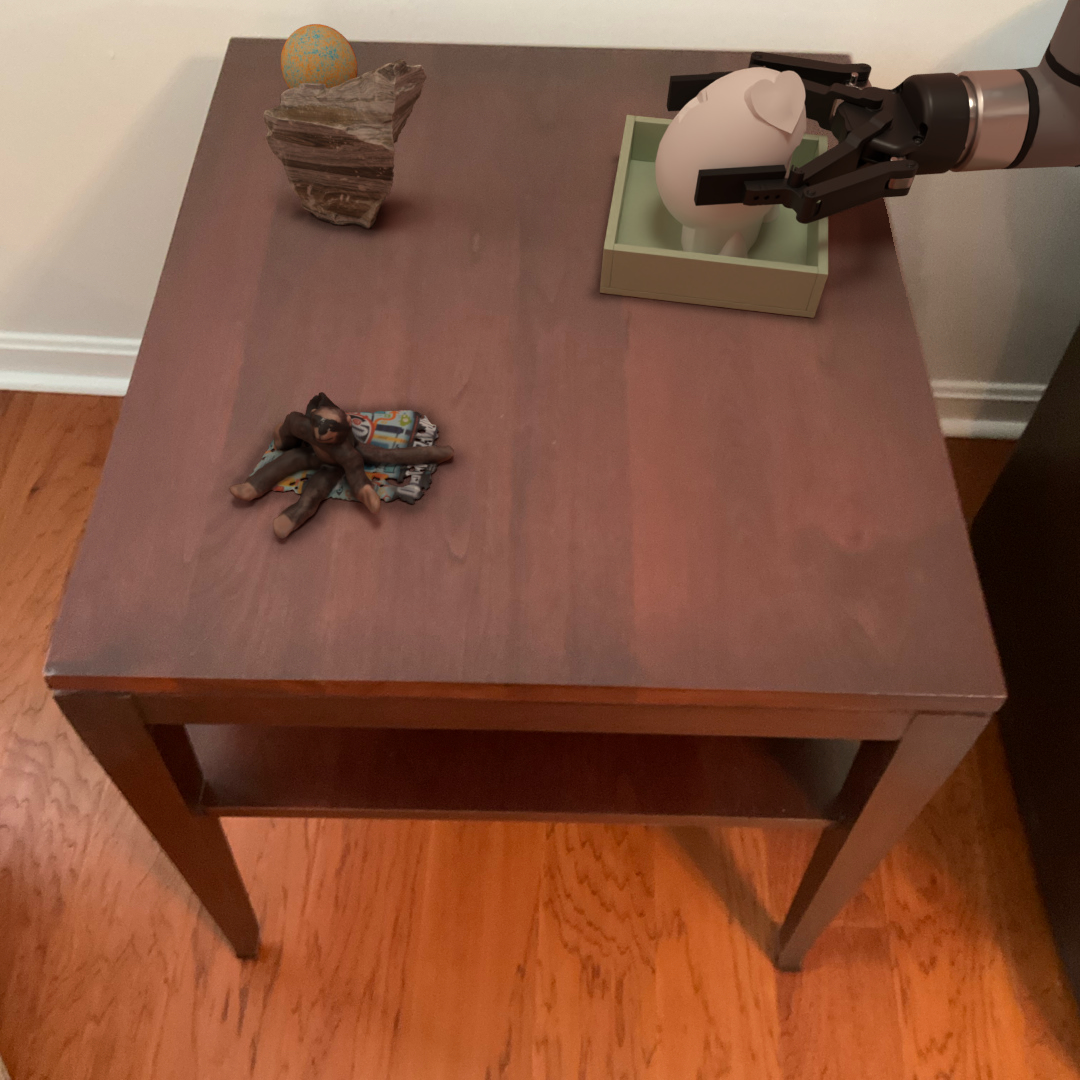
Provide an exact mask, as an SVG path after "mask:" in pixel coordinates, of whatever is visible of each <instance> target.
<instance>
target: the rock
mask: <svg viewBox="0 0 1080 1080" xmlns="http://www.w3.org/2000/svg"><path fill="white" fill-rule="evenodd" d="M426 79H427V74H426V73H425V69H424V66H423V65H422V64H413V65H412V64H410V65H409V64H407V61H406V59H404V58H402V59H398V60H395V61H391V62H388V63H385V64H384V65H382V66H380V67H378V68H374V69H372V70H370V71H367V72H364V73H363V74H360V76H357V78H354V79H350V80H348V81H346V82H344V83H343V84H341V85H338V86H335V87H332V88H330V89H327V88H326V86H325V85H326V84H321V83H318V84H314V83H301V84H300V85H299V87H295V88H291V89H289V88H288V89H286V90H284V91H283V92H281V95H280V97H281V98H280V104H279V105H277V106H274V107H273V108H267V109H266V110H264V112H263V122H264V124H265V126H266V128H267V131H268V132H267V133H266V134H265V140H266V143H267V144H268V146H269V148H270V150H271V153H273V154H274V156H276V158H277V159H278V160H280V162H281V164H282V166H283V170H284V172H285V174H286V176H287V177H286V178H287V180H288V182H289V186H290V188H291V190H292V191H293V193H294V194H295V195H296V196H297V197H298V198H299V200H300V205H301V208H302V209H304V210H306V211H308V213H311V214H313V215H314V217H316V218H317V219H319V220H321V221H324V222H327V223H330V224H331V225H332V226H345V225H347V226H348V225H349V226H350V225H353V226H358V227H362V229H368V230H371V229H372V228H373V227H374V226H375V225H376V221H377V219H378V216H379V211H380V208H381V206H382V204H383V203H384V202H385V200H386V199H387V197H389V195H390V194H391V190H392V188H393V184H394V177H395V176H394V175H395V174H394V168H395V164H394V163H395V158H394V157H395V155H396V154H395V153H396V152H395V151H396V149H395V143H397V142H398V139H399V137H400V135H401V133H402V131H403V129H404V128H405V126H406V123H407V121H408V118H409V117H410V116H411V114H412V113H413V108H414V105H415V104H416V102H417V101H418V100H419V98H420V97H421V95H422V91H423V88H424V84H425V81H427V80H426Z"/></svg>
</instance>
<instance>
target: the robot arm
mask: <svg viewBox="0 0 1080 1080" xmlns="http://www.w3.org/2000/svg"><path fill="white" fill-rule="evenodd" d="M754 67H763V68H769V69H773V70H776V71H779V72H781V73H782V72H784V71H794V72H795V73H797V74H798V75H799V77H800V78H801V80H802V82H803V85H804V88H805V102H804V104H805V109H806V119H808V120H812V121H816V122H817V124H818V127H820V129H823V130H826V131H828V132H831V133H832V136H833V137H834V138H835V139H836V140H837V145H835V146H833V147H831V148H830V149H828V151H826V152H825V153H823V154H821V155H820V156H818V157H816V158H815V159H813V160H811V161H810V162H808V163H806V164H805V165H803V166H801V167H800V168H798V167H796V166H795V169H794V170H793V167H794V165H792V166H791V169H790V173H789V177H788V178H785V175H786V168H785V166H784V165H769V166H752V167H735V168H719V169H702V170H699V172H698V178H697V184H696V190H695V196H694V202H695V205H696V206H703V205H719V204H735V203H743V205H747V206H757V205H775V204H782V205H783V206H784V207H786V208H790V209H793V210H794V211H795V212H796V213H797V215H796V220H797V221H798V222H799V223H802V224H808V223H811V222H814V221H817V220H820V219H822V218H825V217H828V218H829V217H831V216H833V215H836V214H839V213H843V212H845V211H848V210H852V209H854V208H857V207H859V206H862V205H865V204H868V203H871V202H873V201H877V200H880V199H882V198H883V199H884V198H897V197H906V196H909V193H910V190H911V189H912V185H913V183H914V179H915V177H916V176H925V175H927V176H928V175H941V174H942V175H943V174H945V173H947V172H949V171H950V172H953V173H964V172H966V173H967V172H979V171H980V172H981V171H992V170H993V171H996V170H1017V169H1019V170H1020V169H1043V168H1065V167H1066V168H1068V167H1069V168H1080V0H1067V2H1066V4H1065V7H1064V8H1063V11H1062V14H1061V16H1060V17H1059V20H1058V23H1057V25H1056V27H1055V30H1054V32H1053V34H1052V37H1051V39H1050V40H1049V43H1048V45H1047V47H1046V49H1045V52H1044V53H1043V56H1042V58H1041V60H1040V61H1039V64H1038V65H1037V66H1030V67H1021V68H1005V69H982V70H981V69H979V70H962V71H961V72H959V73H957V74H956V73H954V72H931V73H916V74H911V75H910V76H908V77H906V78H905V79H904V80H903V81H902V82H900V83H899V84H898V85H896V86H895V87H893V88H891V89H889V88H881V87H878V86H872V83H871V81H870V79H869V78H870V75H871V72H872V69H873V68H872V66H871V65H870V64H868V63H864V62H862V63H861V62H860V63H859V62H858V63H836V62H830V61H823V60H817V59H810V58H804V57H803V58H802V57H797V56H792V55H785V54H779V53H778V54H777V53H770V52H765V51H753V52H752V53H751V54H750V59H749V63H748V67H747V68H746V69H748V68H754ZM735 71H736V70H729V71H713V72H710V73H699V74H696V73H695V74H680V75H670V76H669V83H668V84H669V85H668V92H667V99H666V109H667V112H680V111H681V109H682V108H683V107H684V106H685V105H686V104H687V103H688V102H689V101H691V100H692V99H693V98H695V97H696V96H697V95H698V94H699V92H700V91H701V90H703V89H704V88H706V87H707V86H709V85H710V84H711V83H713V82H714V81H716V80H717V79H719V78H721V77H723V76H726V75H728V74H730V73H732V72H735ZM838 100H840V101H842V102H840V103H839V104H838V106H837V107H836V105H837V101H838ZM834 111H835V112H834ZM819 200H820V202H819V203H817V201H819Z"/></svg>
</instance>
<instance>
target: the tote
mask: <svg viewBox="0 0 1080 1080" xmlns="http://www.w3.org/2000/svg"><path fill="white" fill-rule="evenodd" d="M625 116H626V117H625V122H624V128H623V135H622V140H621V145H620V152H619V157H618V162H617V169H616V173H615V179H614V185H613V190H612V191H613V192H612V198H611V203H610V209H609V214H608V220H607V224H606V225H607V226H606V232H605V237H604V242H603V250H602V261H601V273H600V286H599V293H600V294H607V295H615V296H622V297H623V296H624V297H632V298H633V297H634V298H640V299H650V300H657V301H664V302H665V301H666V302H674V303H682V304H683V303H684V304H692V305H700V306H709V307H716V308H725V309H734V310H742V311H751V312H759V313H768V314H777V315H785V316H794V317H802V318H811V319H814V318H815V316H816V313H817V310H818V307H819V305H820V302H821V301H820V300H821V299H822V295H823V292H824V289H825V286H826V282H827V280H828V276H829V216H828V217H825V218H822V219H820V220H817V221H814V222H811V223H808V224H802V223H799V222H798V221H797V220H796V215H797V213H796V212H795V211H794V210H793V209H790V208H786V207H784V206H783V205H782V204H779V216H778V217H777V218H776V219H775V220H774V221H771V222H767V223H762V226H761V230H760V232H759V235H758V237H757V240H756V242H755V243H754V244H753V246H752V247H751V248H750V250H749V251H748V252H747V254H748V259H747V258H738V257H729V256H721V255H712V254H703V253H694V252H686V251H683V248H682V244H681V235H682V227H683V225H682V224H681V223H680V222H679V221H677V220H676V219H675V218H674V217H673V216H672V215H671V214H670V212H669V211H668V210H667V208H666V207H665V205H664V203H663V201H662V199H661V196H660V194H659V191H658V188H657V183H656V168H655V161H656V157H657V152H658V148H659V144H660V142H661V140H662V138H663V136H664V134H665V132H666V130H667V128H668V126H669V125H670V123H671V122H672V121H673V119H670V118H662V117H661V118H660V117H652V116H642V115H632V114H626V115H625ZM828 150H829V136H828V135H823V134H813V133H806V132H804V135H803V138H802V140H801V143H800V145H799V146H797V147H796V148H795V150H794V151H793V155H792V159H791V164H790V168H789V173H790V169H791V166H792V165H794V167H793V170H794V169H795V166H796V167H798V168H800V167H801V166H803V165H805V164H806V163H808V162H810V161H811V160H813V159H815V158H816V157H818V156H820V155H821V154H823V153H825V152H826V151H828ZM819 202H820V200H819V201H817V203H819Z"/></svg>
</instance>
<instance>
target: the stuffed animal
mask: <svg viewBox="0 0 1080 1080" xmlns="http://www.w3.org/2000/svg"><path fill="white" fill-rule="evenodd" d="M421 416H422V413H420V412H418V411H413V410H412V409H411V410H410V409H409V410H405V409H400V410H385V411H383V410H377V411H374V412H370V411H355V412H352V411H351V412H345V410H343V409H342V408H341V407H339V406H338V405H337V404H335V403H334V402H333V401H332V400H331V398H329V397H328V396H327V394H326V393H325V392H323V391H320V392H318V394H316V395H314V396H312V398H311V399H310V400H309V402H308V403H307V405H306V409H305V414H304V413H302V412H301V411H297V410H296V411H295V410H294V411H291V412H290V413H288V414H287V415H286V416H285V419H284V421H283V422H279V423H278V424H277V425H275V426H274V428H273V429H272V434H271V435H272V437H273V438H272V440H271V442H270V444H269V445H268V449H267V450H266V451H265V452H264V454H263V456H262V457H261V460H260V461H259V462H258V463H257V464H256V466H255V467H254V468H253V472H252V473H250V474H249V475H248V477H247V478H246V479H245V481H244V483H237V484H233V485H231V486H229V488H228V490H229V493H230V494H231V495H232V496H233V497H234V498H236V499H238V500H240V501H241V500H242V501H245V502H250V501H253V500H254V499H258V498H261V497H262V496H264V495H265V494H266V493H268V492H270V491H273V492H277V491H278V492H286V491H291V490H292V491H293V492H294V493H295V494H298V495H300V497H299V498H298V499H297V501H296V502H294V503H292V504H290V505H289V506H288V507H286V508H285V509H283V510H282V511H281V512H280V514H279V515H278V516H276V517H275V518H274V519H273V520H272V530H273V531H272V532H273V533H274V535H276V536H277V537H278V538H280V539H285V538H286V537H288V536H289V535H290V534H291V533H292V532H294V531H295V530H297V529H298V528H299V527H301V526H302V525H303V524H305V522H306V521H307V520H308V519H310V518H311V517H313V516H314V515H315V514H316V511H317V509H318V507H319V505H320V503H321V502H322V501H323V500H326V499H329V498H332V499H338V500H340V499H341V500H344V501H345V500H346V501H348V502H351V501H355V502H361V503H362V504H363V505H364V506H365V508H367V509H368V510H369V511H370V513H371V514H374V515H377V514H379V513H380V512H381V508H382V500H383V501H384V502H393V501H394V500H397V499H399V500H401V501H402V502H407V504H410V505H411V504H412V505H414V504H415V503H416V502H415V500H420V499H421V497H423V496H424V494H425V491H427V489H429V488H430V486H431V485H430V484H431V483H432V480H433V479H432V475H431V474H433V473H435V472H436V470H437V467H438V466H439V465H440V464H441V463H443V462H446V461H449V460H450V459H451V458H452V457H453V456H454V455H455V450H454V448H453V446H451V445H437V443H435V441H436V439H438V438H439V437H440V436H439V434H438V432H439V429H438V426H437V424H433V423H431V421H430V420H429V418H428V416H426V415H423V416H424V417H423V418H421ZM419 431H425V432H423V433H422V432H421V433H420V432H419ZM273 449H274V451H272V450H273ZM411 468H414V470H410V469H411ZM421 470H422V471H421ZM423 470H424V471H423ZM409 476H411V477H410V480H409V484H407V485H404V486H399V485H393V484H390V483H389V482H387V481H386V479H394V480H396V483H402V482H404V479H405V478H407V477H409ZM374 478H376V479H379V480H374ZM303 479H306V480H303ZM291 484H293V485H291ZM423 488H424V490H425V491H423V490H422V489H423Z"/></svg>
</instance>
